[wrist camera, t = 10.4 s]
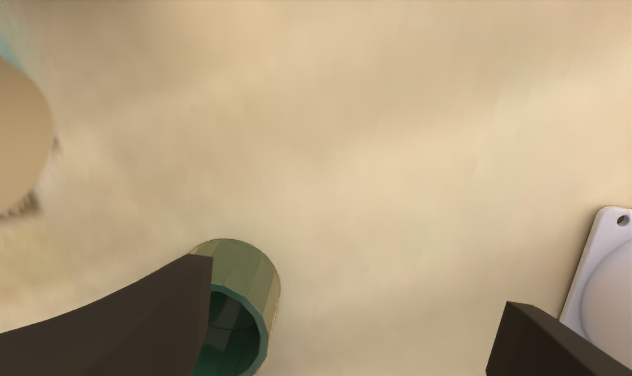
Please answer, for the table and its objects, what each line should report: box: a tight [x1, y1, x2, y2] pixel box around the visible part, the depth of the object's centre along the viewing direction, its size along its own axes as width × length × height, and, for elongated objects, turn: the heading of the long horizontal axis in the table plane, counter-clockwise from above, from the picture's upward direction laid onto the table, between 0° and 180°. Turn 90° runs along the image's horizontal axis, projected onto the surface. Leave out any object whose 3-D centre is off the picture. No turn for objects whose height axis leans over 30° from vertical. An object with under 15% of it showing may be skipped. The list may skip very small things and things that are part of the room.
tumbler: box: [189, 239, 280, 376], centre depth 21 cm, size 5×5×4 cm
